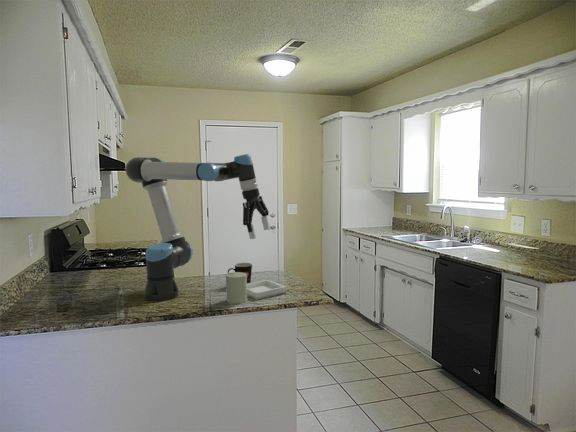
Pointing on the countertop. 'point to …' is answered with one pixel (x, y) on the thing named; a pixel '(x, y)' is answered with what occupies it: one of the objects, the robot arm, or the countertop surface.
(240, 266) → the coffee mug
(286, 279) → the countertop surface
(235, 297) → the can
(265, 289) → the bin
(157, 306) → the countertop surface
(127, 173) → the robot arm
